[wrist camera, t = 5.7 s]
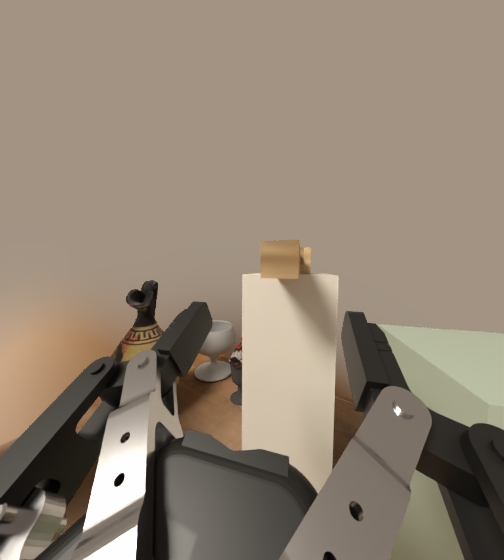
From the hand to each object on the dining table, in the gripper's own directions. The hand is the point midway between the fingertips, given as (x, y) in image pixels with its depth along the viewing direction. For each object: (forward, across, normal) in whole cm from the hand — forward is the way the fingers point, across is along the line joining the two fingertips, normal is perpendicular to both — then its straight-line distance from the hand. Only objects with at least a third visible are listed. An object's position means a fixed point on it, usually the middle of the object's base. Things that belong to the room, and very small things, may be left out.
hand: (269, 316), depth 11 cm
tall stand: (+2, 0, +36) cm, 36 cm away
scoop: (+14, 0, +6) cm, 15 cm away
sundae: (+12, +13, +42) cm, 46 cm away
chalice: (+20, +25, +47) cm, 57 cm away
